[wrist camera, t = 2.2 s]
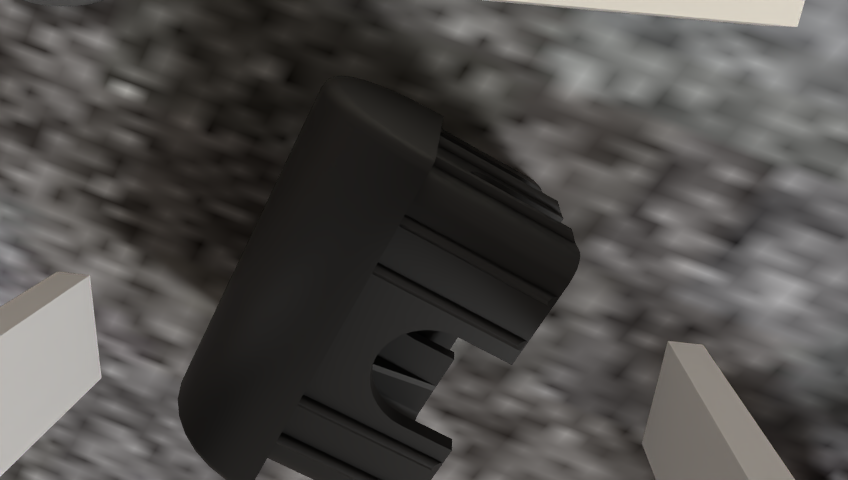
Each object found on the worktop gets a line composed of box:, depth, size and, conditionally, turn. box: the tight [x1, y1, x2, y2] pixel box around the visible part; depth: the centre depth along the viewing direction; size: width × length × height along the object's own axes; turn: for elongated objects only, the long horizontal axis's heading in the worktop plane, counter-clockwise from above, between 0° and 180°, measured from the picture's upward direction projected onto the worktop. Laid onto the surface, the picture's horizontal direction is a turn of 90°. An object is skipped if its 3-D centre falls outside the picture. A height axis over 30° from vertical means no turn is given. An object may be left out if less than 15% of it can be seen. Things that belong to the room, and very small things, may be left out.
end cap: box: [178, 76, 580, 480], centre depth 17 cm, size 10×7×7 cm
